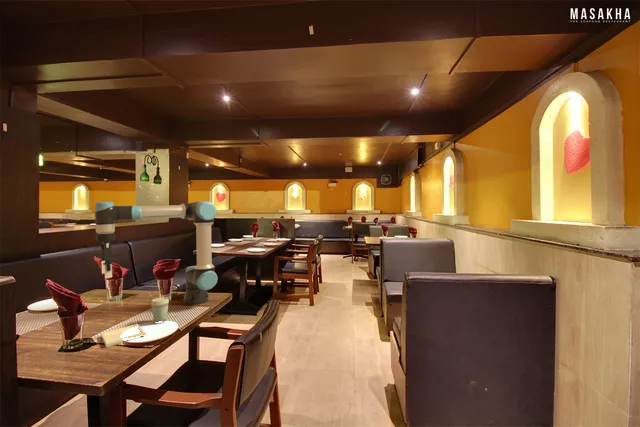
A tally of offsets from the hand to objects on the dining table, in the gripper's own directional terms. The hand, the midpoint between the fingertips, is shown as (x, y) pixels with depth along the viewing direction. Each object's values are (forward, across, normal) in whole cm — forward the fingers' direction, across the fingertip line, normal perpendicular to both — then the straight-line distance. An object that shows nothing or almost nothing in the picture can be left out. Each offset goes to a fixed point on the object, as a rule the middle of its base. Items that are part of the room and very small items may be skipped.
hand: (106, 275), depth 143 cm
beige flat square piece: (+28, +14, +4) cm, 31 cm away
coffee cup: (+28, +7, +22) cm, 36 cm away
